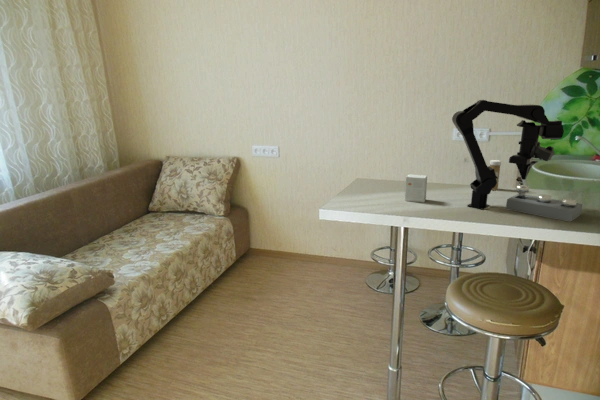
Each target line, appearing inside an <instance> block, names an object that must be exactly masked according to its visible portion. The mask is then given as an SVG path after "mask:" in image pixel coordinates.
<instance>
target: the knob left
mask: <svg viewBox="0 0 600 400" xmlns="http://www.w3.org/2000/svg"><path fill="white" fill-rule="evenodd" d="M515 190H516V192H518V193H517V194H518V198H519V199H525V195H526V193H528V192H529V191H530V186H529V185H526V184H516V188H515Z"/></svg>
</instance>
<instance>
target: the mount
mask: <svg viewBox="0 0 600 400" xmlns="http://www.w3.org/2000/svg"><path fill="white" fill-rule="evenodd" d="M537 199H538V195H530V194H525V199H519V198H518V193H517V194H514V195H513V196H511V197H509V198H507V200H506V206H505V209H506V210H509V211H514V212H519V213H524V214H528V215H529V214H530V215H535V216H540V217H543V218H544V217H545V218H550V219H555V220H560V221H566V222H572V221H574V220H575V219H577V218H578V217H579V216H581V215H582V209H583V203H579V202H576V206H575V207H572V208H570V207H565V206H563V205H561V203H562V200H561V199H555V198H551V202H548V203H542V202H540V201H538V200H537Z"/></svg>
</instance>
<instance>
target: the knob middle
mask: <svg viewBox="0 0 600 400" xmlns="http://www.w3.org/2000/svg"><path fill="white" fill-rule="evenodd" d="M537 197H538V199H537V200H538V201H540V202H542V203H548V202H551V199H552V195H549V194H538V195H537Z"/></svg>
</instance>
